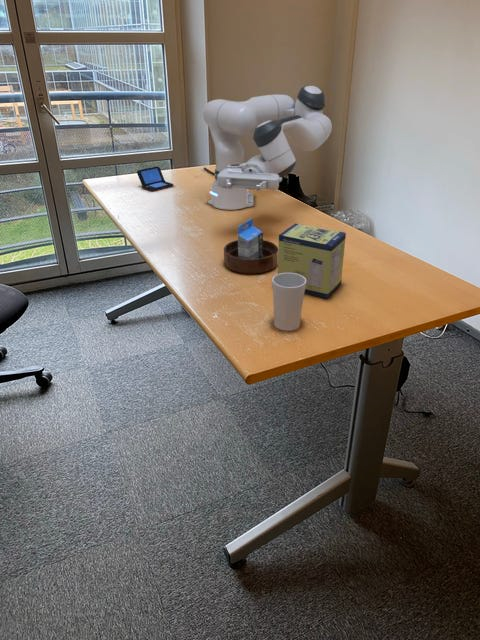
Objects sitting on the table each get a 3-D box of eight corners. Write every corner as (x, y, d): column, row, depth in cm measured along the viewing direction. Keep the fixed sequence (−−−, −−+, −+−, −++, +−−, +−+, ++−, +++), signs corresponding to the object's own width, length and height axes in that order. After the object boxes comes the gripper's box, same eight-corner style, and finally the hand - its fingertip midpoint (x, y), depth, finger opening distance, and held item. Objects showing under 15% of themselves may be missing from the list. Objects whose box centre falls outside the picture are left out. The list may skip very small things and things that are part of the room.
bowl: (231, 251, 163) (231, 236, 161) (281, 255, 160) (282, 240, 157) (218, 272, 149) (217, 257, 147) (272, 277, 146) (273, 262, 144)
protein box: (291, 272, 149) (294, 222, 141) (341, 284, 142) (347, 232, 134) (275, 286, 141) (277, 234, 133) (327, 299, 135) (333, 245, 127)
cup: (268, 316, 127) (270, 273, 121) (299, 314, 128) (302, 271, 122) (273, 333, 120) (274, 288, 114) (306, 331, 121) (309, 286, 115)
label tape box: (248, 267, 150) (249, 228, 144) (237, 264, 152) (237, 226, 146) (263, 257, 157) (264, 219, 150) (252, 255, 159) (252, 217, 152)
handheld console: (151, 192, 220) (150, 175, 216) (137, 187, 227) (135, 170, 223) (174, 186, 228) (173, 169, 224) (160, 181, 234) (158, 165, 231)
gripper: (282, 187, 168) (276, 199, 157) (223, 183, 172) (212, 194, 161) (283, 168, 165) (276, 178, 153) (223, 164, 169) (212, 174, 157)
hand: (243, 187), depth 157 cm, fingers open, 8 cm apart
